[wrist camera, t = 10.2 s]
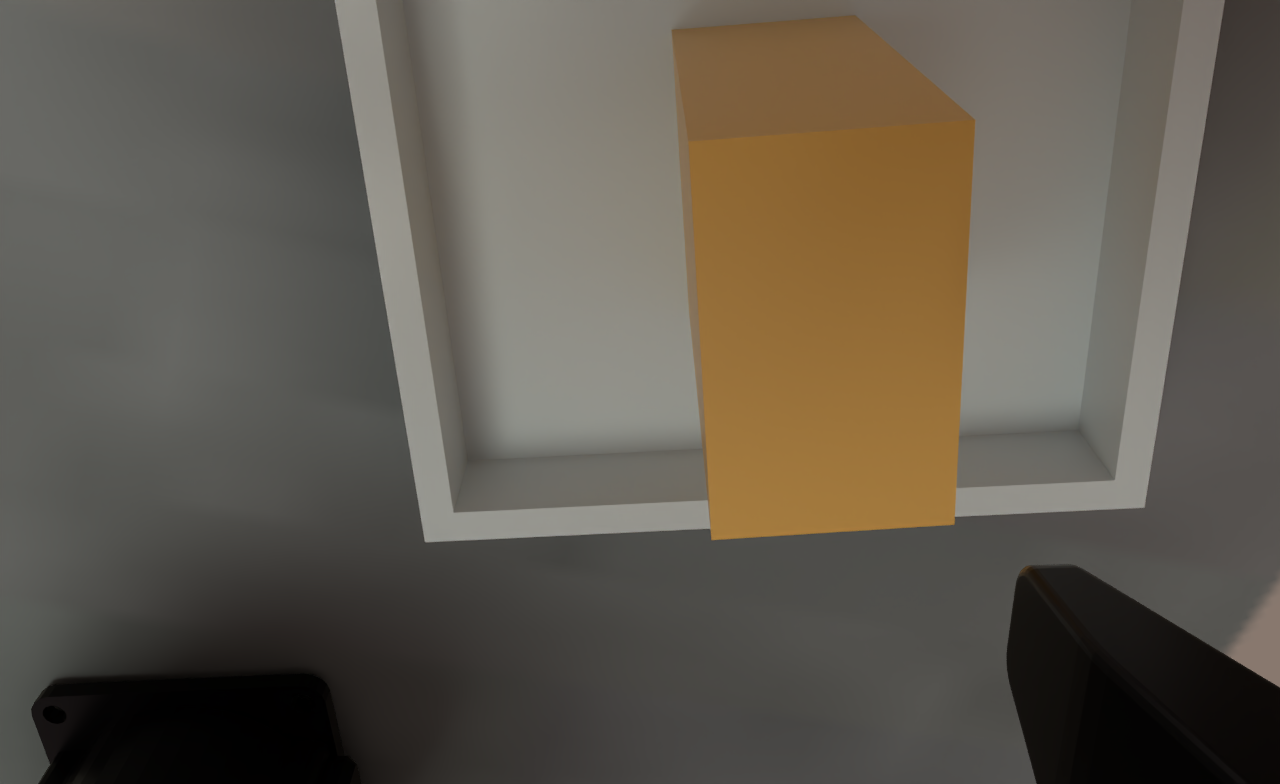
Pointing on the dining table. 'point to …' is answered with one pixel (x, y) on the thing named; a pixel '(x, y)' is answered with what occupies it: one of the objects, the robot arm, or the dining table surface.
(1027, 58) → the parts tray
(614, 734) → the dining table surface
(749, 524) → the orange rectangular block
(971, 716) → the dining table surface
